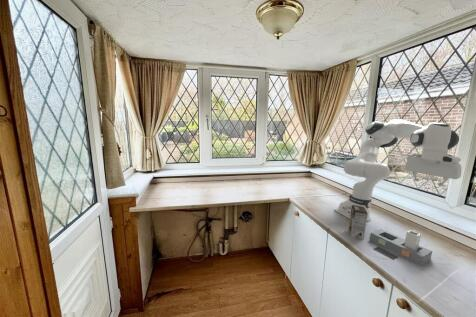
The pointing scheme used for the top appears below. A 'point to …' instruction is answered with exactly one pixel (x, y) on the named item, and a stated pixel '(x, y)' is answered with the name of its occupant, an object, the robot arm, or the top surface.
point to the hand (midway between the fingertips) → (428, 183)
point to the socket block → (400, 246)
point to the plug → (412, 240)
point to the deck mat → (385, 253)
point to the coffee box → (357, 222)
